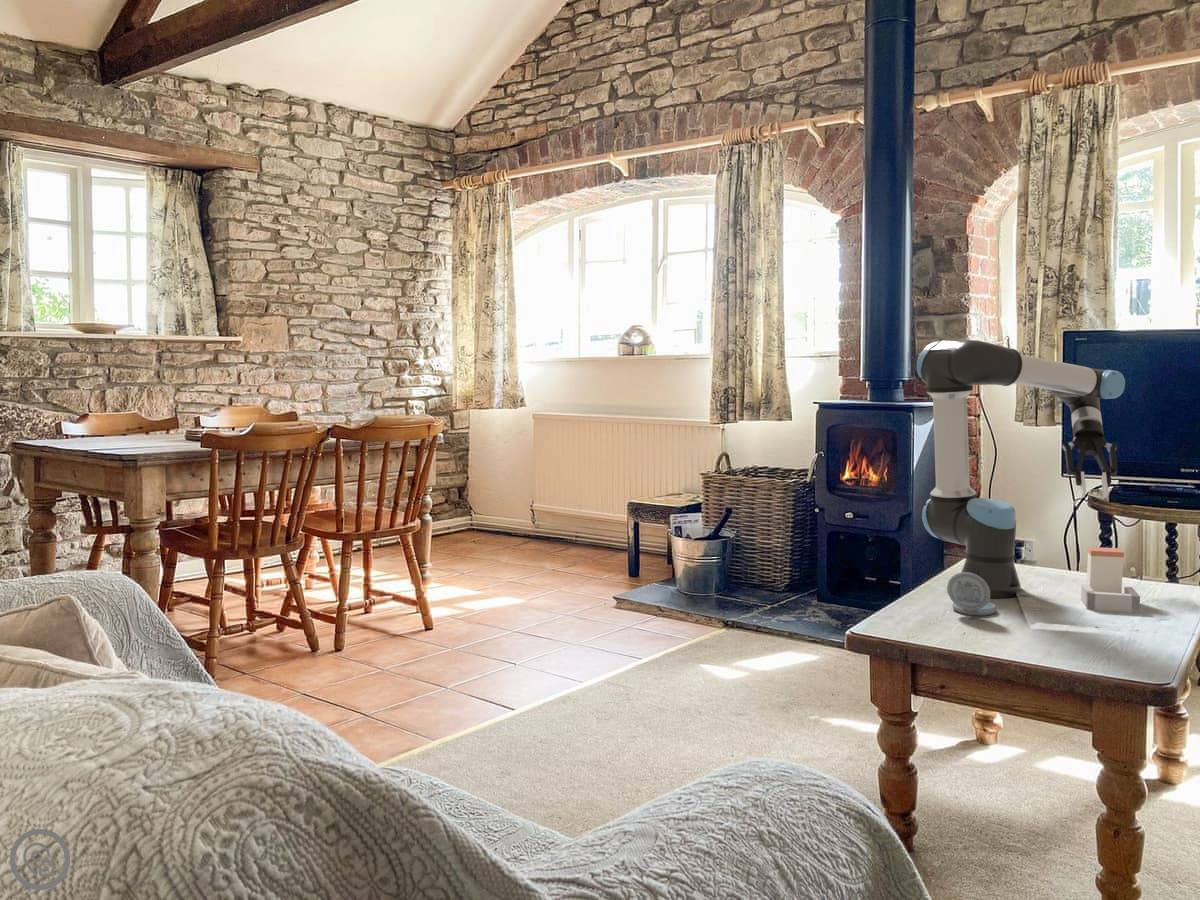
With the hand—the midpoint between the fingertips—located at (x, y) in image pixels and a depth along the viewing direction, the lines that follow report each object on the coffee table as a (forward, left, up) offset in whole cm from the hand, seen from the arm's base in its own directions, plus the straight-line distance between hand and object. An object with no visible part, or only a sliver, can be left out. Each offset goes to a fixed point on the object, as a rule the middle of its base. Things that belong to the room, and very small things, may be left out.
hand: (1094, 494), depth 259 cm
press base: (-4, -24, -24) cm, 34 cm away
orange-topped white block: (-3, -18, -23) cm, 30 cm away
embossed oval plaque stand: (-37, -31, -25) cm, 54 cm away
